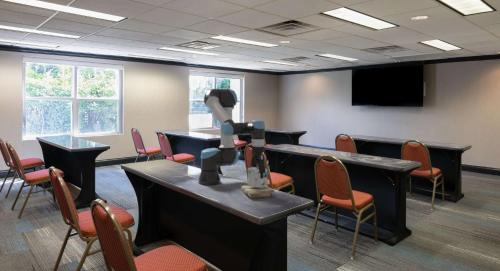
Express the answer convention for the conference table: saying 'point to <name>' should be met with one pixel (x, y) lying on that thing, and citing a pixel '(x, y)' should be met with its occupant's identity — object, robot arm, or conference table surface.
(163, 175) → the conference table surface
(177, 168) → the conference table surface
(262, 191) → the wavy wood-grain tile
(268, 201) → the conference table surface
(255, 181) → the light bulb box
